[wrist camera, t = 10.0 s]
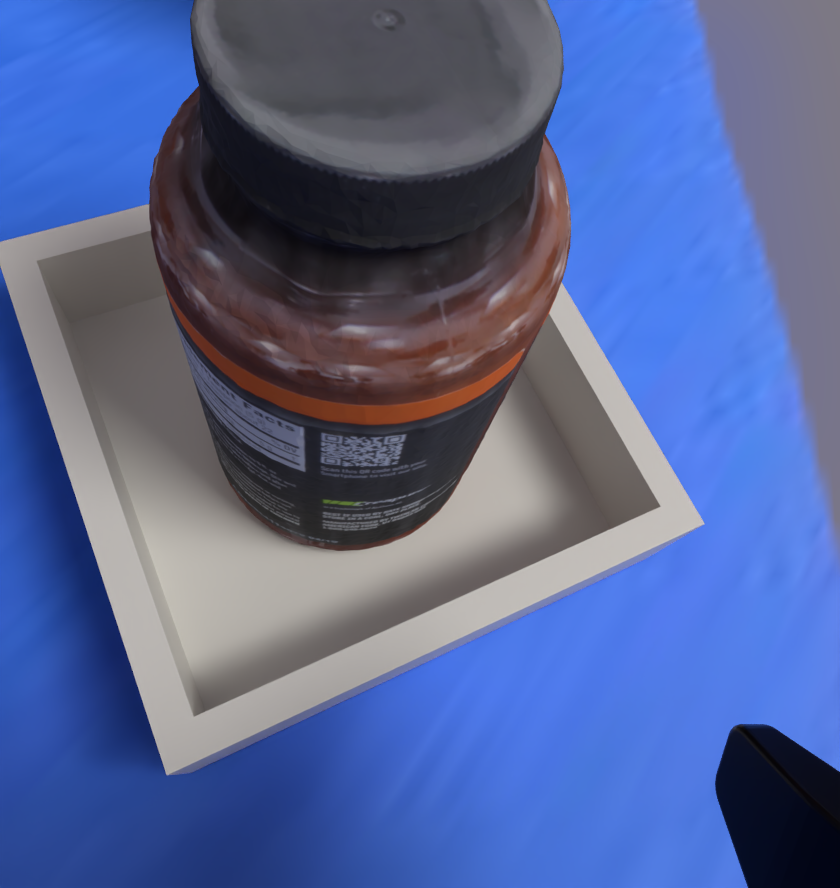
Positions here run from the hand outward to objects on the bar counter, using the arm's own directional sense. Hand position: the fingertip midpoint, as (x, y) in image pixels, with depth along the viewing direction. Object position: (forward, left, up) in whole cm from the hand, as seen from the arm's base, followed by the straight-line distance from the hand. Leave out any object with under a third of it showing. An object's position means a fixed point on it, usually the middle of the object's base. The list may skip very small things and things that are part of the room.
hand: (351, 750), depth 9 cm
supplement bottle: (+6, -3, -8) cm, 11 cm away
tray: (+7, -3, -8) cm, 11 cm away
